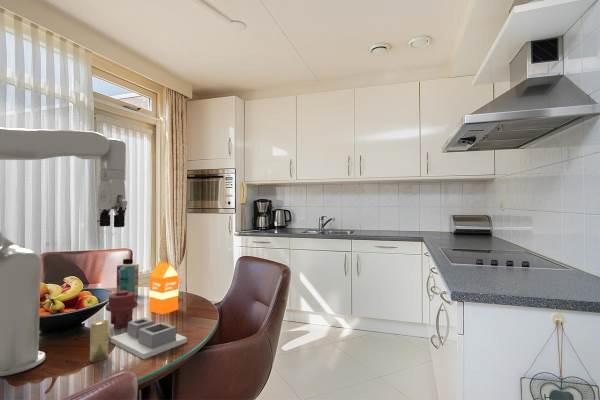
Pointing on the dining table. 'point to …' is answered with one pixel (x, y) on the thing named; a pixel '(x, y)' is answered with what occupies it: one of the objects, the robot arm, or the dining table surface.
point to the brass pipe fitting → (99, 340)
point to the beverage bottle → (127, 277)
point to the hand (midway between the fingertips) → (111, 226)
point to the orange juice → (163, 289)
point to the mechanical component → (121, 308)
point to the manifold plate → (148, 338)
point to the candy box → (135, 276)
